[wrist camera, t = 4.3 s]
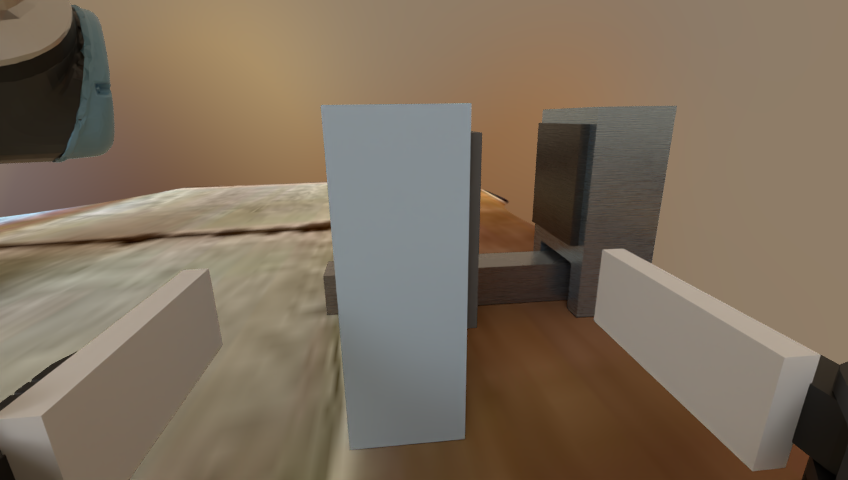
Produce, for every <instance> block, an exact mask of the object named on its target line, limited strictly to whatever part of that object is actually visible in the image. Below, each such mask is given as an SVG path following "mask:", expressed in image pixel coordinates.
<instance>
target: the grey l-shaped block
mask: <svg viewBox="0 0 848 480" xmlns="http://www.w3.org/2000/svg"><path fill="white" fill-rule="evenodd" d="M676 107H677V106H635V107H634V106H633V107H632V106H631V107H587V108H569V109H568V108H567V109H549V110H548V109H547V110H543V119H542V123H539V129H538V142H537V157H536V173H535V188H534V204H533V219H532V221H533V222H534V223H535V235H534V250H533V251H531V252H511V253H491V254H479V265H478V302H477V305H489V304H505V303H521V302H537V301H553V300H568V302H567V308H568V309H569V310H570V311H571V312H572V313H573V314H574V315H575V316H576V317H589V316H594V315H595V307H596V299H597V290H598V282H599V274H600V266H601V258H602V250H603V249H625V250H627V251H629V252H631V253H633V254H634V255H636V256H638V257H640V258H642V259H644V260H646V261H647V262H649V263H652V257H653V250H654V245H655V238H656V232H657V226H658V220H659V213H660V207H661V201H662V195H663V188H664V182H665V176H666V170H667V164H668V157H669V151H670V145H671V139H672V132H673V125H674V120H675V114H676ZM324 287H325V298H326V308H327V315H328V314H338V302H337V291H336V279H335V267H334V261H329V262H328V264H327V267H326V270H325V273H324Z"/></svg>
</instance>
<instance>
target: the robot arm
mask: <svg viewBox="0 0 848 480" xmlns="http://www.w3.org/2000/svg"><path fill="white" fill-rule="evenodd" d="M109 77H110V73H109V66H108V59H107V52H106V47H105V41H104V36H103V32H102V28H101V24H100V22H99V19H98V17H97V16H96V15H95V14H94V13H93V12H91V11H89V10H86V9H82V8H80V7H78V6H76V5H71V4H70V1H69V0H0V164H4V163H27V162H28V163H29V162H51V161H52V162H62V161H65V160H67V159H74V158H84V157H94V156H99V155H102V154H104V153H106V152H107V151H108V150H109V149H110V148H111V146H112V144H113V141H114V112H113V101H112V94H111V91H110V78H109ZM594 321H595V322H596V323H597V324H598V325H599V326H600V327H601V328H602V329H603V330H604V331H605V332H606V333H607V334H609V335H610V336H611V337H612V338H613V339H614V340H615V341H616V342H617V343H618V344H619V345H620V346H621V347H622V348H623V349H624V350H625V351H626V352H627V353H629V354H630V355H631V356H632V357H633V358H634V359H635V360H636V361H637V362H638V363H639V364H640V365H641V366H642V367H643V368H644V369H645V370H646V371H647V372H649V373H650V374H651V375H652V376H653V377H654V378H655V379H656V380H657V381H658V382H659V383H660V384H661V385H662V386H663V387H664V388H665V389H666V390H667V391H669V392H670V393H671V394H672V395H673V396H674V397H675V398H676V399H677V400H678V401H679V402H680V403H681V404H682V405H683V406H684V407H685V408H686V409H687V410H689V411H690V412H691V413H692V414H693V415H694V416H695V417H696V418H697V419H698V420H699V421H700V422H701V423H702V424H703V425H704V426H705V427H706V428H707V429H709V430H710V431H711V432H712V433H713V434H714V435H715V436H716V437H717V438H718V439H719V440H720V441H721V442H722V443H723V444H724V445H725V446H726V447H727V448H729V449H730V450H731V451H732V452H733V453H734V454H735V455H736V456H737V457H738V458H739V459H740V460H741V461H742V462H743V463H744V464H745V465H746V466H747V467H749V468H750V469H751V470H752V471H759V470H768V469H777V468H785V467H786V464H787V461H788V458H789V454H790V451H791V448H792V445H793V443H794V444H795V445H796V446H797V447H799V448H800V449H801V450H803V451H804V452H805V453H806V454H808V455H809V459H808V462H807V465H806V468H805V471H804V474H803V477H802V480H848V362H845V363H843V364H841V365H839V364H837V363H835V362H833V361H831V360H829V359H828V358H826V357H824V356H822V355H820V354H818V353H816V352H814V351H813V350H811V349H809V348H807V347H805V346H803V345H802V344H800V343H798V342H796V341H794V340H792V339H790V338H789V337H787V336H785V335H783V334H781V333H779V332H777V331H775V330H774V329H772V328H770V327H768V326H766V325H764V324H763V323H761V322H759V321H757V320H755V319H753V318H751V317H749V316H748V315H746V314H744V313H742V312H740V311H738V310H736V309H734V308H733V307H731V306H729V305H727V304H725V303H724V302H722V301H720V300H718V299H716V298H714V297H712V296H710V295H709V294H707V293H705V292H703V291H701V290H699V289H698V288H696V287H694V286H692V285H690V284H688V283H686V282H684V281H683V280H681V279H679V278H677V277H675V276H673V275H672V274H670V273H668V272H666V271H664V270H662V269H660V268H658V267H657V266H655V265H653V264H651V263H649V262H647V261H646V260H644V259H642V258H640V257H638V256H636V255H634V254H633V253H631V252H629V251H627V250H625V249H603V250H602V258H601V266H600V274H599V282H598V290H597V299H596V307H595V315H594ZM222 345H223V344H222V338H221V333H220V327H219V322H218V316H217V311H216V305H215V300H214V294H213V289H212V284H211V278H210V273H209V268H208V269H187V270H182V271H181V272H180V273H178V274H177V275H176V276H175V277H173V278H172V279H171V280H169V281H168V282H167V283H166V284H164V285H163V286H162V287H160V288H159V289H158V290H156V291H155V292H154V293H153V294H151V295H150V296H149V297H147V298H146V299H145V300H144V301H142V302H141V303H140V304H138V305H137V306H136V307H134V308H133V309H132V310H131V311H129V312H128V313H127V314H125V315H124V316H123V317H122V318H120V319H119V320H118V321H116V322H115V323H114V324H112V325H111V326H110V327H109V328H107V329H106V330H105V331H103V332H102V333H101V334H100V335H98V336H97V337H96V338H94V339H93V340H92V341H90V342H89V343H88V344H87V345H85V346H84V347H83V348H81V349H80V350H79V351H77V352H75V353H73V354H71V355H69V356H67V357H65V358H63V359H61V360H59V361H57V362H55V363H53V364H51V365H50V366H49V367H47V368H46V369H45V370H43V371H42V372H41V373H39V374H38V375H37V376H35V377H34V378H33V379H32V381H31V382H27V383H26V384H25V385H23V386H22V387H21V388H19V389H18V390H17V391H15V394H14V395H10V396H9V397H7V398H6V399H5V400H3V401H2V402H1V403H0V480H129V479H130V478H131V476H132V475H133V474H134V472H135V471H136V469H137V468H138V466H139V465H140V463H141V462H142V461H143V459H144V458H145V456H146V455H147V453H148V452H149V450H150V449H151V448H152V446H153V445H154V443H155V442H156V440H157V439H158V437H159V436H160V435H161V433H162V432H163V430H164V429H165V427H166V426H167V424H168V423H169V422H170V420H171V419H172V417H173V416H174V414H175V413H176V412H177V410H178V409H179V407H180V406H181V404H182V403H183V401H184V400H185V399H186V397H187V396H188V394H189V393H190V391H191V390H192V388H193V387H194V386H195V384H196V383H197V381H198V380H199V378H200V377H201V375H202V374H203V373H204V371H205V370H206V368H207V367H208V365H209V364H210V362H211V361H212V360H213V358H214V357H215V355H216V354H217V352H218V351H219V349H220V348H221V347H222Z"/></svg>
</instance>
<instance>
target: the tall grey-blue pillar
mask: <svg viewBox="0 0 848 480" xmlns="http://www.w3.org/2000/svg"><path fill="white" fill-rule="evenodd" d="M321 113H322V124H323V136H324V149H325V160H326V172H327V184H328V196H329V208H330V220H331V231H332V243H333V255H334V267H335V279H336V291H337V302H338V314H339V326H340V338H341V350H342V362H343V374H344V385H345V397H346V409H347V421H348V433H349V445H350V450H354V449H365V448H376V447H386V446H397V445H407V444H418V443H428V442H439V441H449V440H460V439H465V408H466V355H467V328H477V302H478V265H479V228H480V191H481V153H482V133H480V132H473V131H471V103H466V104H465V103H462V104H383V105H382V104H375V105H321Z"/></svg>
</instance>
